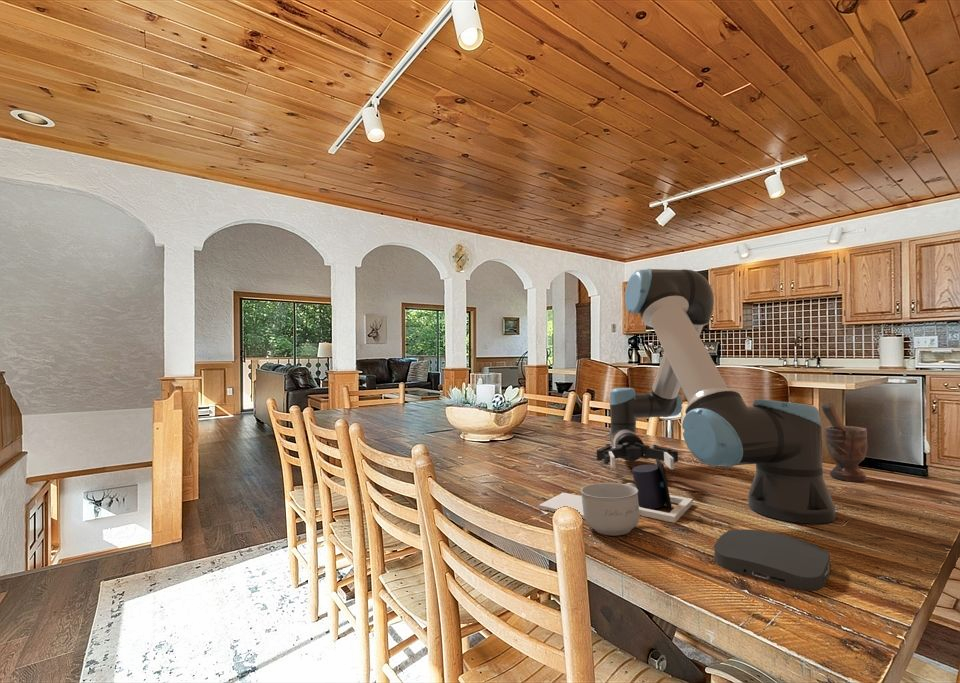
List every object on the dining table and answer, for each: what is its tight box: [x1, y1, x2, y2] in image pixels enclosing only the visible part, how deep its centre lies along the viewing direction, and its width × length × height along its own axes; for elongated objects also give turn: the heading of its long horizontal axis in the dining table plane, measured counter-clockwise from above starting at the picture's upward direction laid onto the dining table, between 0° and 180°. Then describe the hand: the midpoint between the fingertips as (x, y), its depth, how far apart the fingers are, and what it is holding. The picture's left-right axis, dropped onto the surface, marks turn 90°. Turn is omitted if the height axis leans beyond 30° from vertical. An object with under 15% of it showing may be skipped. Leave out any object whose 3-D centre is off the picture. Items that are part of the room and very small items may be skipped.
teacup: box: [580, 482, 640, 537], centre depth 88 cm, size 14×11×8 cm
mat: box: [538, 492, 585, 520], centre depth 100 cm, size 11×11×1 cm
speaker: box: [631, 458, 673, 513], centre depth 100 cm, size 8×6×10 cm
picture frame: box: [639, 494, 694, 524], centre depth 99 cm, size 14×14×1 cm
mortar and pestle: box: [821, 402, 868, 483], centre depth 116 cm, size 12×9×20 cm
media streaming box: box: [713, 529, 832, 592], centre depth 72 cm, size 15×15×3 cm
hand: (642, 463), depth 109 cm, fingers open, 13 cm apart
